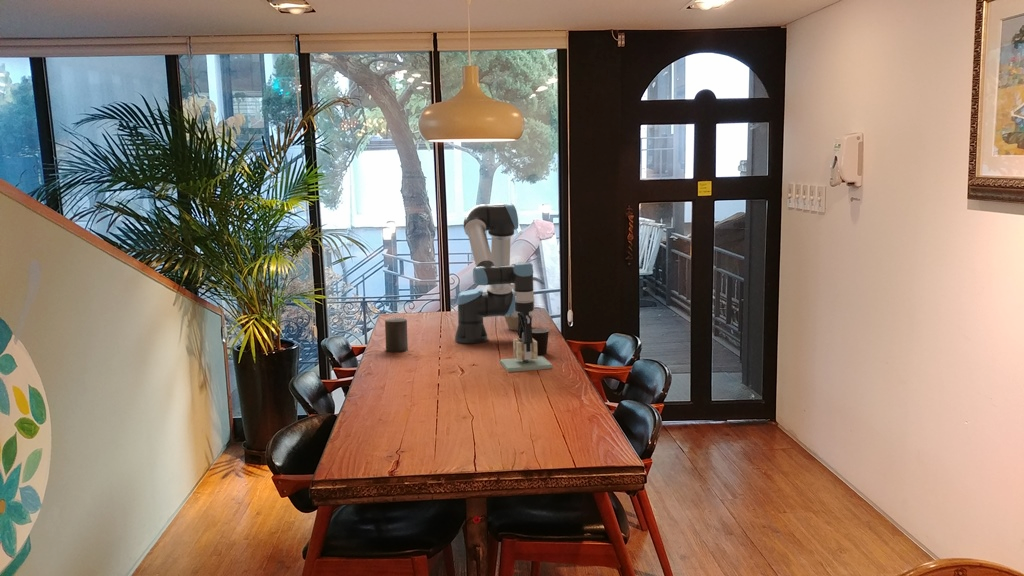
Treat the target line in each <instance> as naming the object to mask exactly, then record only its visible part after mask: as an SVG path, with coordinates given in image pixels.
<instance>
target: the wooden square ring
mask: <svg viewBox="0 0 1024 576" xmlns="http://www.w3.org/2000/svg"><path fill="white" fill-rule="evenodd" d="M532 339H533V338H532ZM512 343H513V346H512V347H513V356H514V358H516V359H517V360H525V357H524V344H523V342H522V338H521V339H520V338H513V340H512ZM531 356H532V359H538V356H539V355H538V354H537V341H536V340H534V339H533V343H531ZM527 360H530V359H527Z"/></svg>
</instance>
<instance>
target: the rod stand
mask: <svg viewBox="0 0 1024 576" xmlns="http://www.w3.org/2000/svg"><path fill="white" fill-rule="evenodd" d="M522 342H525V339H524V332H523V333H522ZM499 363H500V365H501V364H502V365H501V366H502V367H503V368H504V369H505V371H506V372H508V373H511V372H523V371H536V370H537V371H538V370H548V369H549V370H550V369H553V364H552V363H551V362H550V361H549V360H548V359H547V358H546V357H544V355H538V359H530V360H517V359H516V358H515V357H514V358H503V359H501V358H500V359H499Z"/></svg>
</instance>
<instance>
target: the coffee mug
mask: <svg viewBox="0 0 1024 576" xmlns="http://www.w3.org/2000/svg"><path fill="white" fill-rule="evenodd" d="M549 331H550V330H549V329H547V328H532V338H533V339H534V340H536V341H537V354H538V356H545V355H547V353H548V343H549Z"/></svg>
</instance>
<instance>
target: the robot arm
mask: <svg viewBox="0 0 1024 576" xmlns="http://www.w3.org/2000/svg"><path fill="white" fill-rule="evenodd" d="M463 229H464V233H465V235H466V236H467V237H468V241H469V244H470V245H469V246H470V248H471V253H472V256H473V260H474V263H475V264H474V265H475V267H473V269H472V279H473V283H474V285H476V286H487V288H486V291H484V292H483V290H482V289H480V288H476V289H469V290H463V291H462V292H460V293H458V294H457V301H456V302H457V303H456V305H457V328H456V331H455V335H454V341H455V342H456V343H459V344H480V343H483V342H486V341H487V342H488V338H489V337H488V333H487V329H486V327H485V325H484V318H490V317H491V318H492V317H494V318H495V317H504V316H507V315H511V314H512V313H513V312H514V310H515V311H517V312H520V313H518V331H517V336H518V339H521V338H522V333H523V332H524V339H525V342H523V344H524V357H525V360H527V359H532V356H531V343H533V339H532V329H533V326H532V322H533V318H532V319H531V318H530V316H529V312H531V311H533V310H534V311H535V297H534V268H533V264H532V263H531V262H526V261H524V262H522V261H521V262H515V263H513V264H510V263H511V237H513V236H514V235H515V231H516V230H518V229H519V218H518V213H517V209H516V206H515V205H514V204H512V203H502V202H501V203H487V204H486V203H485V204H484V203H482V204H481V203H480V204H477V205H475V206H473V207H472V208H471V209H469V211H468V212H467V213H466V215H465V217H464V220H463ZM486 232H487V233H486ZM487 234H488V235H489V236H491V243H490V244H491V246H490V245H489V241H488V237H487ZM513 283H514V286H515V292H514V291H513V290H512V286H511V284H513ZM533 300H534V302H533Z"/></svg>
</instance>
